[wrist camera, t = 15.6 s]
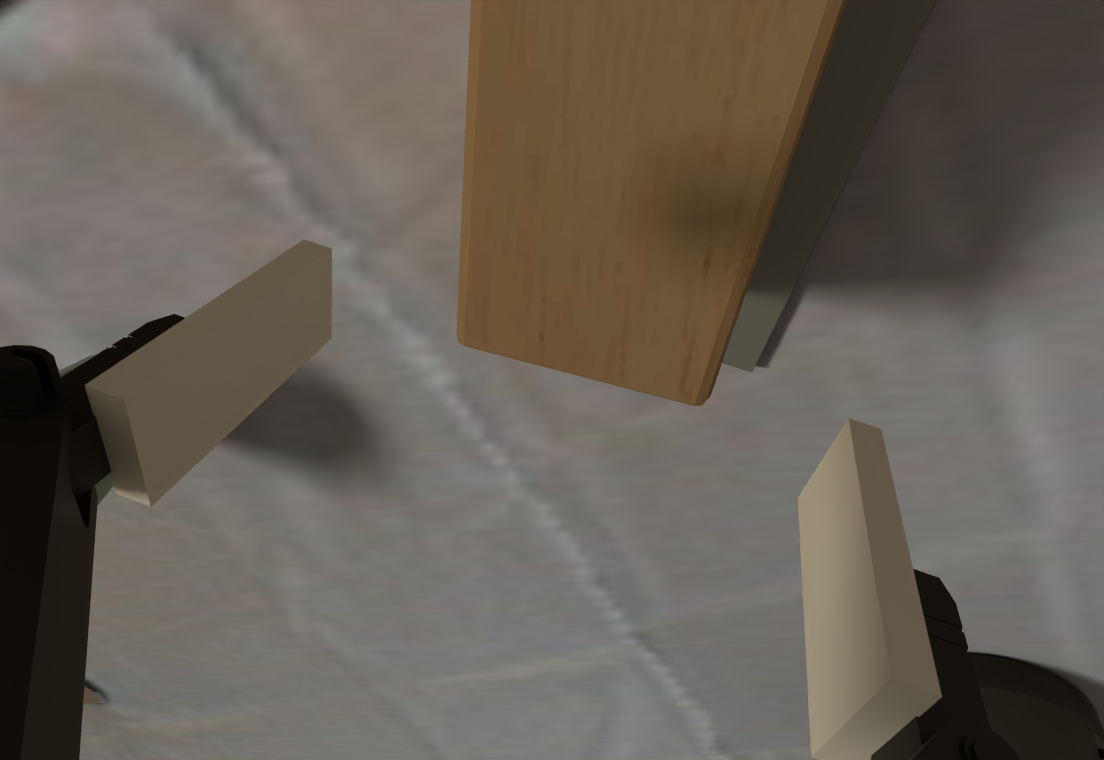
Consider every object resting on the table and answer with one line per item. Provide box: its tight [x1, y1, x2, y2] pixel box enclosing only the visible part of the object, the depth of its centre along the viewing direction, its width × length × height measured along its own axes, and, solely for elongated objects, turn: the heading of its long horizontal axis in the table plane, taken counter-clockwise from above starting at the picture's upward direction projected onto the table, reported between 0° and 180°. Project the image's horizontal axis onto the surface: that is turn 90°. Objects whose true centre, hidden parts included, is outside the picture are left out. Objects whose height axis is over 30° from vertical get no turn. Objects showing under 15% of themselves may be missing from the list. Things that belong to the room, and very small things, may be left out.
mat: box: [722, 0, 937, 372], centre depth 27 cm, size 16×28×1 cm, turn 168°
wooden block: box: [457, 0, 847, 406], centre depth 23 cm, size 10×10×20 cm
